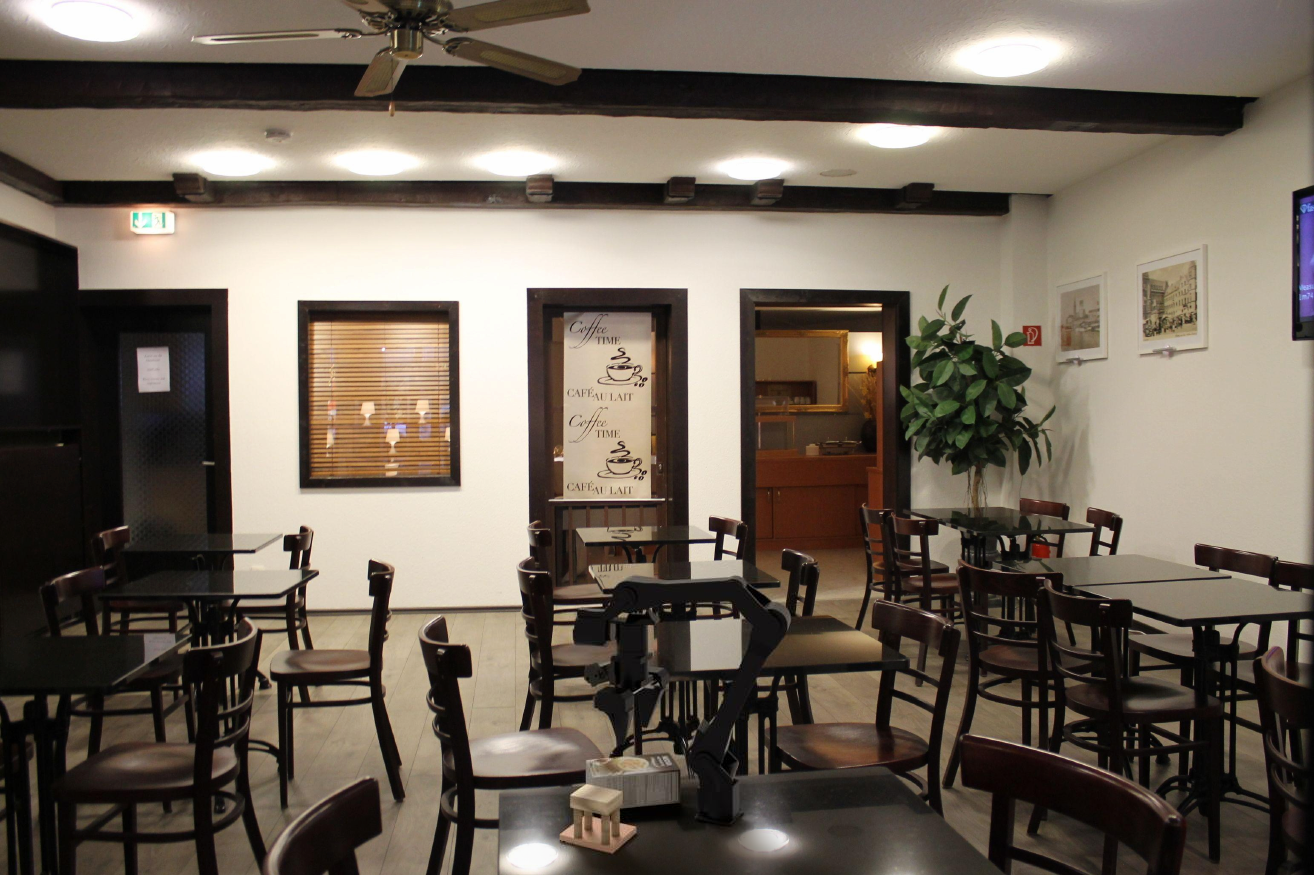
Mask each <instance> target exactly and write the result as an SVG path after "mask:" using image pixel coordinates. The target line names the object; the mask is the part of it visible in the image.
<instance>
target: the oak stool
mask: <svg viewBox="0 0 1314 875" xmlns="http://www.w3.org/2000/svg"><path fill="white" fill-rule="evenodd" d="M569 797H570V798H569V800H570V802H569V807H570V809H571V808H572V809H573V824H574V838H576V839H580V838H582V837H583V835H582V817H584V830H587V831H590V830H592V829H593V817H594V816H593V814H598V815H600V819H601V844H602V845H609V844H610V821H611V836H613V837H618V836H620V823H621V818H620V817H621V816H620V815H621V812H620V810H621V808H620V805H622V804H623V792H622V791H617V790H613V789H608V788H603V787H598V786H593V785H588V784H586V783H585V784H584V785H583V786H581V787H580V788H578V789H577V790H575V791H574V792H573V793H571V794H570V795H569Z"/></svg>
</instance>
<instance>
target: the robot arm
mask: <svg viewBox="0 0 1314 875" xmlns="http://www.w3.org/2000/svg"><path fill="white" fill-rule="evenodd" d="M611 597H612V600H611V601H610V602H609V604H608V605H607V606H606V607H605V608H590V607H584V606H581V607H579V608H578V609H577V610H576V617H575V619H574V625H573V628H572V641H573V644H574V645H575V646H576V647H591V648H593V647H596V648H608V646H609V644H610V643H613V642H614V641H615V646H616V647H615V648H616V650H615V651H616V652H615V653H614V654H612V655H611V657H610V659H609V660H610V661H605V662H602V663H598V662H594V663H589V664H587V665H585V667H584V671H583V672H584V677H583V679H584V680H583V681H585V682H586V683H587V684H589V685H590V687H591V688H594V687H597V686H599V685H602V684H605V683H608V682H609V685H606V686H605V687H602V689H600V690H597V691H596V693H595V694H594V695H593V696H592V701H593V702H592V706H593V708H594V709H597V710H598V711H599V712H603V713H604V714H605V715H607V717H608V720H609V721H610V724H611V727H612V729H613V733H614V736H615V739H616V741H617V744H618V745H622V746H623V745H625V743H626V740H627V738H628V734H629V730H630V726H631V723H632V718H633V716H634V712H635V709H636V707H634V704H635V695H636V697H637V701H638V702H637V703H638V710H639V718H640V725H641V727H642V728H643V729H647V728H648V727H649V725H650V723H651V720H652V718H653V716H654V714H655V712H656V709H657V707H658V704H659V702H660V701H661V699H662V696H663V695H664V692H665V690H666V689H667V687H666V686H667V685H669V684H670V673H669V672H668V670H667V669H666V668H665V667H659V666H651V665H650V664H649V661H650V660H652V659H653V658H654V655H653V653H654V652H653V651H652V652H651V651H649V626H655V625H656V624H658V622H660V617H658V615H656V614H655V613H654V612H653V611H652V609H653V608H657V607H660V606H664V605H672V604H673V605H674V604H675V605H677V604H693V603H716V602H729V603H730V604H731V605H733V606H734V608H735V609H736V610H737V611H738V612H739V613H740V614H741V616H742V617H743V619H745V620H746V621H747V622H748V623H749V624H750V625H752V628H751V631H750V635H749V639H748V642H747V648H746V652H745V654H744V655H743V658H742V659H741V662H740V664H739V665H738V666H739V667H738V668H737V670H736V672H735V675H734V676H733V678H732V681H731V683H730V684H729V687H728V688H727V690H726V693H725V695H724V696H723V699H722V700H721V703H720V705H719V707H718V710H717V711H716V714H715V715H714V716H713V718H712V719H711V720H710V721H707V720H706V719H704V718H702V720H701V722H700V724H699V725H698V727H697V729H696V733H695V735H694V736H693V737H692V740H691V741H690V743H689V744H688V747H687V751H688V752H689V754H688V759H687V761H688V764H689V766H690V769H691V770H692V772H693V773H694V774H696V776H697V778H698V781H699V786H698V787H697V788H696V809H697V811H698V812H697V813H696V815H695V819H696V820H698V821H699V820H700V821H705V822H708V823H714V824H718V825H723V826H726V827H727V826H731V825H732V824H733V823H734V822H735V821H736V820H737V819H738V818H739V817H740V816H741V815H742V814H743V812H744V811H743V810H744V809H743V808H742V807H740V780H739V779H737V778H735V775H736V773H737V770H738V767H739V763H740V761H739V759H737V757H736V756H734V755H733V754H732V752H731V751H730V750H729V745H730V741H731V738H732V733H733V728H734V726H735V724H736V722H737V720H738V718H739V716H740V713H741V711H742V710H743V707H744V705H745V703H746V701H747V699H748V697H749V696H750V693H751V692H752V689H753V687H754V685H755V682H756V681H757V679H758V676H759V675H760V672H761V671H762V668H763V667H764V664H765V663H766V661H767V660H768V659H769V658H770V656H771V655H772V654H773V653H774V651H775V650H776V649H777V647H778V646H779V645H780V643H781V642H782V641H783V639H784V638H785V636H786V635H787V633H788V630H789V627H790V624H791V621H792V620H791V619H792V617H791V613H790V611H789V609H788V608H787V607H786V606H785V605H784V604H782V603H780V602H778V601H772V600H771V598H769V597H768V596H767V595H766V594H764V593H763V592H761V591H760V590H758V589H757V588H755V586H752V585H751V584H750V583H749V582H747V581H746V580H745V579H744V577H742V576H740V575H731V576H729V577H728V576H727V577H724V576H723V577H711V578H710V577H709V578H707V577H706V578H692V579H691V578H690V579H674V580H671V579H670V580H666V579H661V578H656V577H652V576H645V575H635V574H634V575H629V576H628V577H626V578H625V579H623V580H621V581H620V582H618V583H617V584H616V585H615V587H613V591H612V596H611ZM642 611H645V613H643V612H642ZM638 612H639V613H638ZM640 612H642V613H640ZM623 613H624V614H627V616H625V617H622V616H620V615H621V614H623ZM619 616H620V617H619ZM649 665H650V666H649ZM617 686H618V687H617Z"/></svg>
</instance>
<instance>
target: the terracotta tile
mask: <svg viewBox="0 0 1314 875" xmlns="http://www.w3.org/2000/svg"><path fill="white" fill-rule="evenodd" d="M636 834H637V826H634V825H630V824H625V823H621V822H620V836H618V837H613V836H611V820H610V844H609V845H602V844H601V818H599V817H595V816H593V829H592V830H590V831H587V830H584V816H582V835H583V837H582V838H580V839H576V838H574V823H573V824H571V825H570V826H568V828H567V829H565V830H563V831H562V832H561V833H560V834H559V841H560V840H561V841H560V842H563V841H565V842H564V843H568V844H572V843H573V844H572V845H576V846H579V847H580V846H581V847H585V848H589V849H592V850H597V851H600V852H605V853H610V854H614V853H615V852H616V851H617V850H618V849H620V848H621V847H622V846H623V845H624V844H625V843H626V842H628V840H630V839H631V838H632V837H633V836H635V835H636Z"/></svg>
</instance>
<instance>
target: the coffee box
mask: <svg viewBox="0 0 1314 875" xmlns="http://www.w3.org/2000/svg"><path fill="white" fill-rule="evenodd" d="M681 778H682V774H681V768H680V767H679V765H678V764H677V762H676V761H675V760H674V758H673V756H672V754H671V753H670V752H660V753H651V754H635V755H628V756H627V755H626V756H618V757H617V756H615V757H604V758H595V759H586V760H585V785H586V784H588V785H593V786H598V787H603V788H608V789H613V790H617V791H622V792H623V804H622V805H620V809H627V808H629V809H630V808H637V807H648V806H650V807H651V806H657V805H658V806H659V805H671V804H677V803H678V804H680V803H681V791H682V789H681V788H682V780H681Z"/></svg>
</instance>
